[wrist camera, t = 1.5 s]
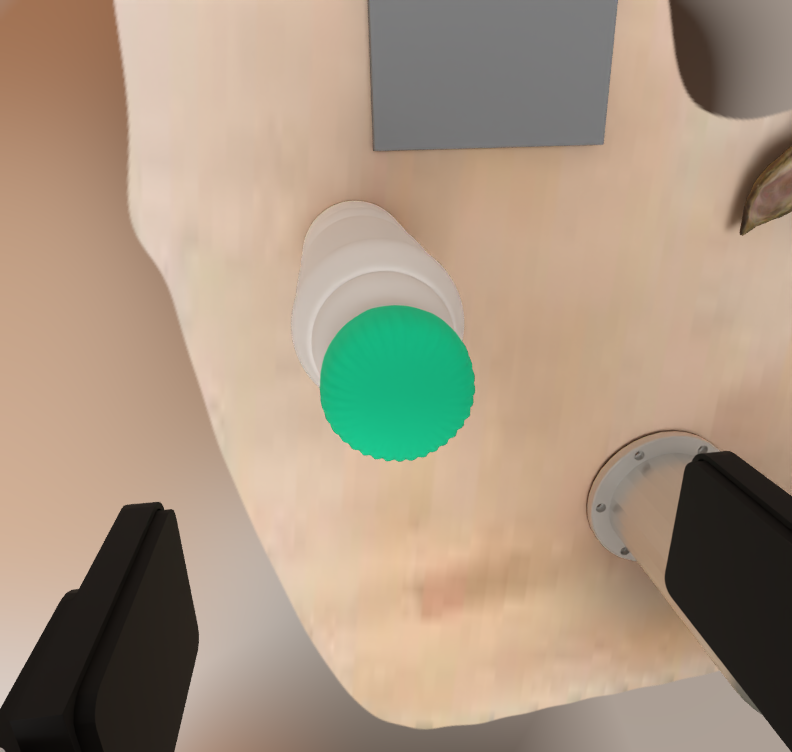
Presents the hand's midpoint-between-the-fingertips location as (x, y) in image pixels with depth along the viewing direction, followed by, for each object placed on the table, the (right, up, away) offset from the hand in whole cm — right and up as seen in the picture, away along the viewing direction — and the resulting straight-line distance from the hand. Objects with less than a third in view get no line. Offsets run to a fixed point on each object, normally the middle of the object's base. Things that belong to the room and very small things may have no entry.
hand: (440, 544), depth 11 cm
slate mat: (+5, +24, +25) cm, 35 cm away
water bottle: (-4, +12, +30) cm, 32 cm away
